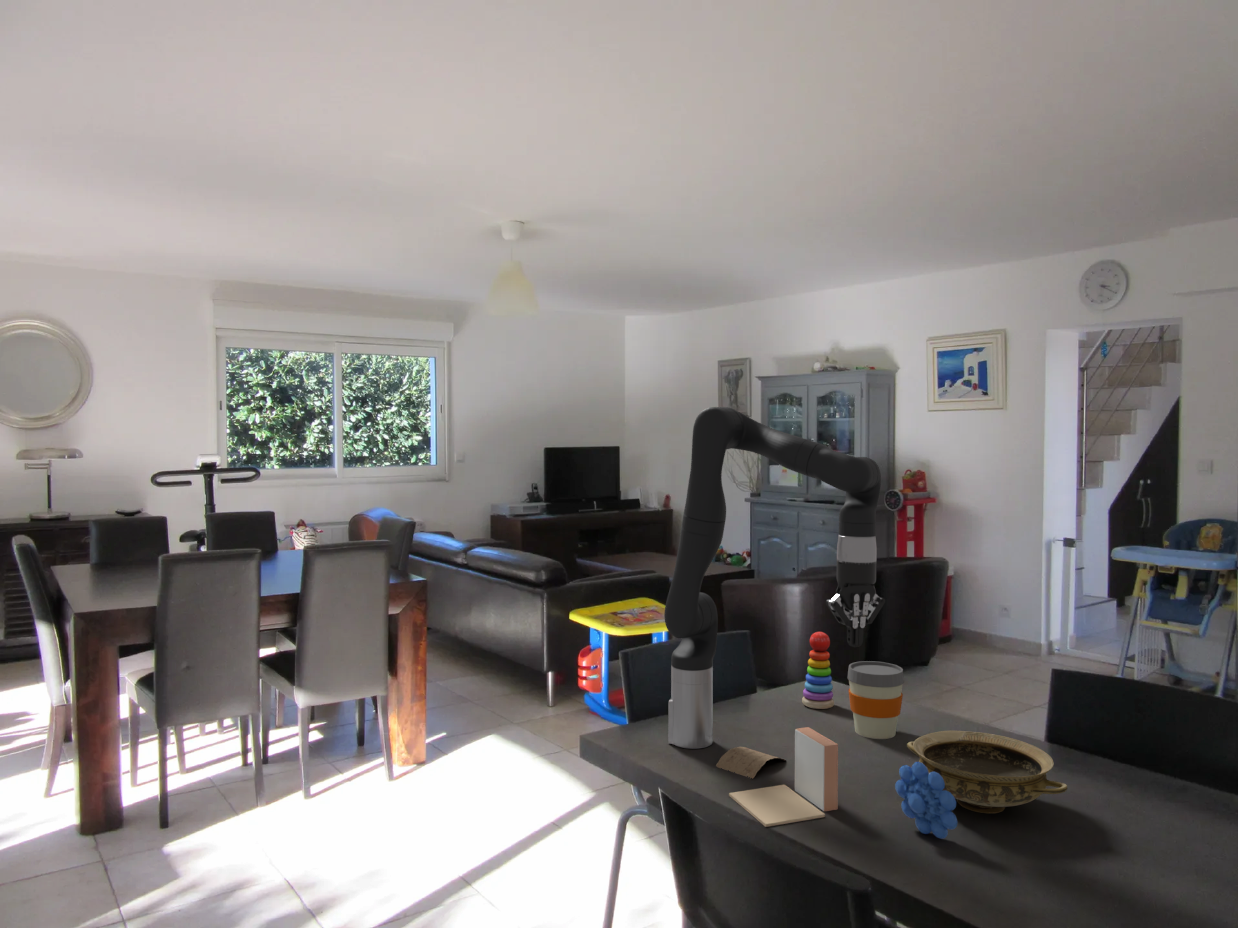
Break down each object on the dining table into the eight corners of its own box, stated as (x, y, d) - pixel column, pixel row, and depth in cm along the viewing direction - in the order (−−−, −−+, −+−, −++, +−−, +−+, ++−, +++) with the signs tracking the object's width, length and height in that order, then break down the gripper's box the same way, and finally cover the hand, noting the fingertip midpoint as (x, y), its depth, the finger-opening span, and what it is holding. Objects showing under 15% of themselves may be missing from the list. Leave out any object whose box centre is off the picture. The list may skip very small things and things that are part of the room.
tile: (807, 788, 165) (808, 726, 165) (837, 809, 156) (838, 744, 156) (794, 790, 164) (794, 728, 164) (823, 811, 155) (823, 746, 155)
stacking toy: (828, 711, 212) (829, 637, 212) (797, 706, 216) (798, 633, 216) (838, 703, 219) (838, 630, 218) (807, 698, 223) (808, 627, 222)
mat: (784, 786, 166) (784, 784, 166) (824, 816, 153) (824, 813, 153) (729, 795, 162) (729, 792, 162) (765, 826, 149) (765, 824, 149)
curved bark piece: (752, 782, 169) (752, 769, 169) (710, 769, 176) (711, 756, 176) (789, 762, 180) (790, 750, 180) (749, 751, 187) (749, 738, 187)
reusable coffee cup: (858, 719, 206) (858, 658, 206) (910, 730, 199) (911, 666, 198) (838, 734, 196) (839, 669, 195) (893, 745, 188) (893, 678, 188)
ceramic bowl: (1094, 814, 154) (1095, 759, 153) (1030, 854, 139) (1031, 793, 139) (941, 764, 177) (941, 717, 177) (872, 794, 162) (873, 742, 162)
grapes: (880, 828, 148) (881, 759, 148) (903, 817, 152) (904, 751, 152) (941, 853, 139) (942, 781, 139) (964, 842, 143) (965, 771, 143)
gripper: (871, 554, 173) (870, 639, 174) (817, 557, 169) (815, 644, 169) (896, 559, 167) (894, 647, 167) (840, 562, 162) (838, 653, 162)
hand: (854, 645), depth 168 cm, fingers closed
